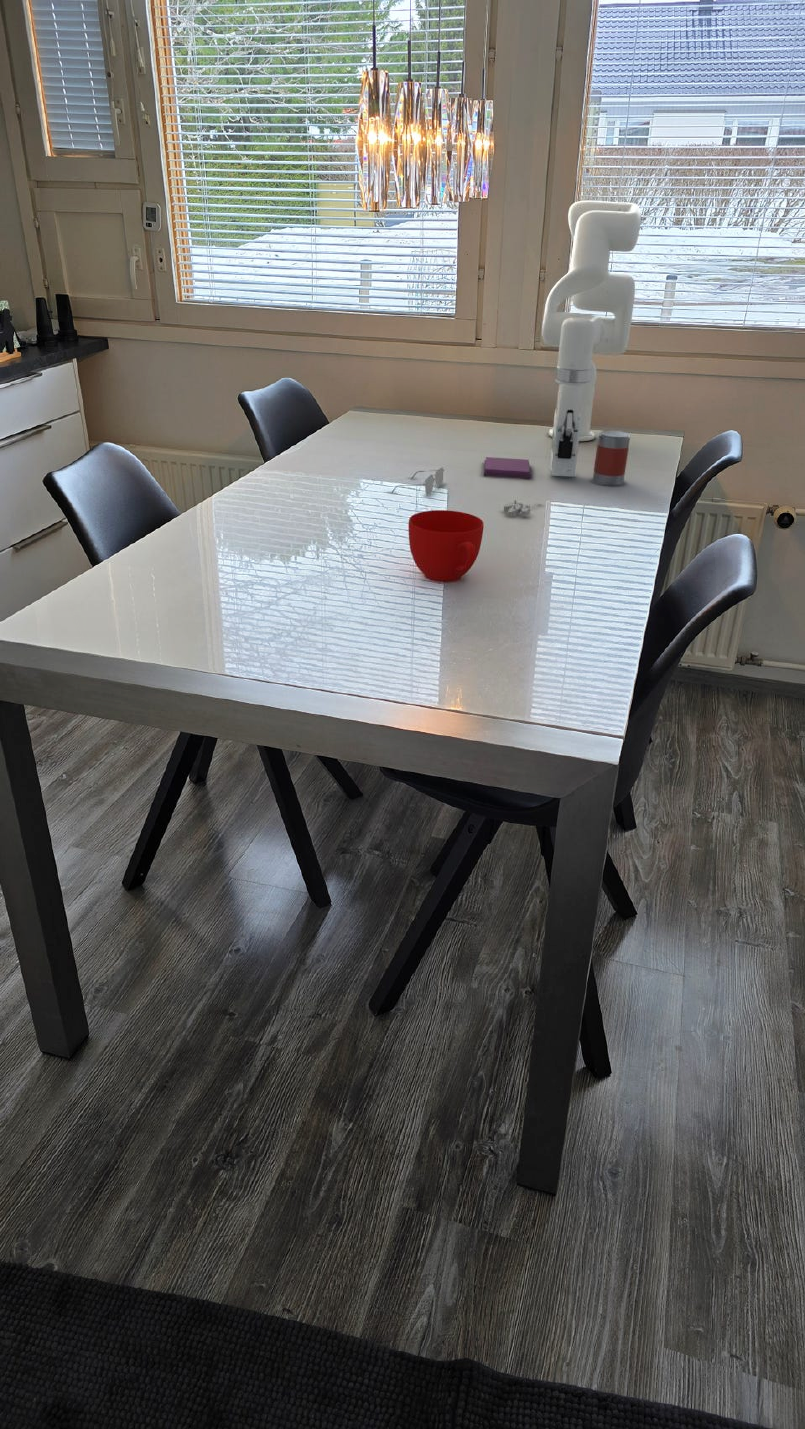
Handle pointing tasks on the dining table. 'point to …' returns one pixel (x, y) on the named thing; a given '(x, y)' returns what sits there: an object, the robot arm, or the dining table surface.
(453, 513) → the ceramic cup
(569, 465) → the syrup box
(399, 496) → the dining table surface
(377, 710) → the dining table surface
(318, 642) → the dining table surface
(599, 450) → the tin can
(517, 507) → the game controller
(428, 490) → the eyeglasses
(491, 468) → the purple square slab
